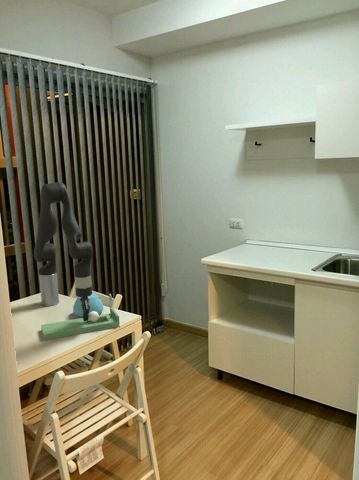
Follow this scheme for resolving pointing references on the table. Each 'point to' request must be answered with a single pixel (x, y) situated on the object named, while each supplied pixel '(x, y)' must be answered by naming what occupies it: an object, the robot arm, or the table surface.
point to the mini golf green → (79, 326)
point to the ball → (93, 316)
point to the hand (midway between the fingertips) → (85, 320)
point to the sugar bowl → (94, 304)
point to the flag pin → (110, 305)
